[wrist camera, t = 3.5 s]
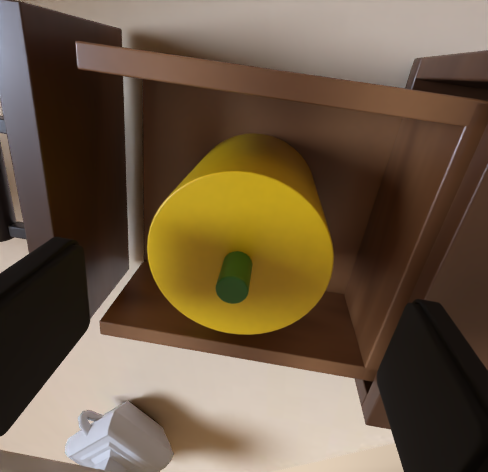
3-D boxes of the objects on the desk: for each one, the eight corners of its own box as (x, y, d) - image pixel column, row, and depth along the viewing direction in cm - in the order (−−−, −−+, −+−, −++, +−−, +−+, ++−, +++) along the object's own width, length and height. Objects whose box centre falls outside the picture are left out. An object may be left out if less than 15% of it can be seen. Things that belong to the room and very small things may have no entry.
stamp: (72, 405, 30) (4, 514, 23) (116, 376, 28) (56, 487, 21) (145, 456, 33) (105, 570, 25) (191, 433, 30) (161, 551, 23)
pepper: (190, 239, 19) (130, 350, 11) (198, 124, 16) (123, 169, 9) (300, 257, 19) (314, 383, 11) (328, 143, 16) (371, 209, 8)
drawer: (48, 255, 22) (-42, 326, 16) (10, 12, 16) (-161, -25, 10) (346, 305, 21) (373, 399, 15) (425, 72, 15) (523, 72, 9)
